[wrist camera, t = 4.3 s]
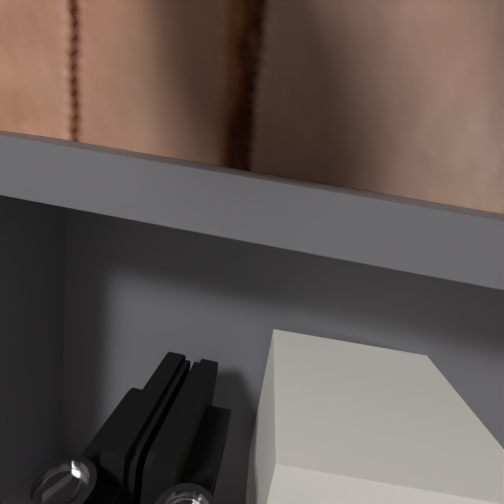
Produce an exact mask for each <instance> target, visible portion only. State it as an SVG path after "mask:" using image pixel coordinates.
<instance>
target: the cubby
mask: <svg viewBox="0 0 504 504" xmlns="http://www.w3.org/2000/svg"><path fill="white" fill-rule="evenodd" d="M273 329H276V330H282V331H287V332H293V333H299V334H305V335H311V336H317V337H322V338H328V339H334V340H340V341H346V342H352V343H357V344H363V345H369V346H375V347H381V348H386V349H392V350H398V351H404V352H410V353H416V354H421V355H427V356H428V358H429V359H430V360H431V361H432V363H433V364H434V365H435V366H436V367H437V369H438V370H439V371H440V372H441V373H442V375H443V376H444V377H445V378H446V380H447V381H448V382H449V383H450V384H451V386H452V387H453V388H454V389H455V391H456V392H457V393H458V394H459V395H460V397H461V398H462V399H463V400H464V401H465V403H466V404H467V405H468V406H469V408H470V409H471V410H472V411H473V412H474V414H475V415H476V416H477V417H478V418H479V420H480V421H481V422H482V423H483V425H484V426H485V427H486V428H487V429H488V431H489V432H490V433H491V434H492V436H493V437H494V438H495V439H496V440H497V442H498V443H499V444H500V445H501V446H502V448H503V449H504V214H499V213H494V212H488V211H482V210H476V209H470V208H464V207H458V206H452V205H446V204H440V203H434V202H429V201H423V200H417V199H411V198H405V197H399V196H393V195H387V194H381V193H375V192H369V191H364V190H358V189H352V188H346V187H340V186H334V185H328V184H322V183H316V182H310V181H304V180H299V179H293V178H287V177H281V176H275V175H269V174H263V173H257V172H251V171H245V170H239V169H234V168H228V167H222V166H216V165H210V164H204V163H198V162H192V161H186V160H180V159H174V158H169V157H163V156H157V155H151V154H145V153H139V152H133V151H127V150H121V149H115V148H109V147H104V146H98V145H92V144H86V143H80V142H74V141H68V140H62V139H56V138H50V137H44V136H37V135H30V134H22V133H15V132H7V131H0V503H1V502H3V501H4V500H5V499H6V498H7V497H8V496H9V495H10V494H11V493H12V492H13V491H15V490H16V489H17V488H18V487H19V486H20V485H21V484H22V483H23V482H24V481H25V480H26V479H27V478H28V477H29V476H30V475H31V474H33V473H34V472H35V471H36V470H37V469H38V468H40V467H41V466H42V465H44V464H45V463H47V462H49V461H51V460H53V459H55V458H59V457H63V456H68V455H78V456H80V455H81V454H82V453H83V451H84V450H85V449H86V447H87V446H88V445H89V443H90V442H91V441H92V439H93V438H94V436H95V435H96V434H97V432H98V431H99V430H100V428H101V427H102V426H103V424H104V423H105V422H106V420H107V419H108V418H109V416H110V415H111V414H112V412H113V411H114V410H115V408H116V407H117V405H118V404H119V403H120V401H121V400H122V399H123V397H124V396H125V395H126V393H127V392H128V391H129V390H130V389H131V388H137V389H143V388H144V386H145V385H146V383H147V382H148V381H149V379H150V378H151V376H152V375H153V373H154V372H155V370H156V369H157V367H158V366H159V364H160V363H161V361H162V360H163V358H164V357H165V356H166V354H167V353H168V352H174V353H179V354H183V355H185V356H186V360H189V361H190V362H191V363H190V369H191V367H192V365H193V363H194V362H198V363H200V361H201V359H206V360H211V361H216V362H218V370H217V377H216V383H215V389H214V396H213V402H212V406H217V407H221V408H226V409H230V410H231V417H230V422H229V428H228V434H227V439H226V444H225V448H224V453H223V457H222V462H221V466H220V470H219V474H218V478H217V482H216V487H215V491H214V495H213V497H214V499H215V501H216V504H246V491H247V478H248V464H249V452H250V447H251V441H252V436H253V431H254V426H255V421H256V416H257V411H258V406H259V401H260V395H261V390H262V385H263V380H264V375H265V370H266V365H267V360H268V355H269V349H270V344H271V339H272V334H273Z"/></svg>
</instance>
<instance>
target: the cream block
mask: <svg viewBox="0 0 504 504" xmlns="http://www.w3.org/2000/svg"><path fill="white" fill-rule="evenodd" d="M246 504H504V449H503V448H502V446H501V445H500V444H499V443H498V442H497V440H496V439H495V438H494V437H493V436H492V434H491V433H490V432H489V431H488V429H487V428H486V427H485V426H484V425H483V423H482V422H481V421H480V420H479V418H478V417H477V416H476V415H475V414H474V412H473V411H472V410H471V409H470V408H469V406H468V405H467V404H466V403H465V401H464V400H463V399H462V398H461V397H460V395H459V394H458V393H457V392H456V391H455V389H454V388H453V387H452V386H451V384H450V383H449V382H448V381H447V380H446V378H445V377H444V376H443V375H442V373H441V372H440V371H439V370H438V369H437V367H436V366H435V365H434V364H433V363H432V361H431V360H430V359H429V358H428V356H427V355H421V354H416V353H410V352H404V351H398V350H392V349H386V348H381V347H375V346H369V345H363V344H357V343H352V342H346V341H340V340H334V339H328V338H322V337H317V336H311V335H305V334H299V333H293V332H287V331H282V330H276V329H273V334H272V339H271V344H270V349H269V355H268V360H267V365H266V370H265V375H264V380H263V385H262V390H261V395H260V401H259V406H258V411H257V416H256V421H255V426H254V431H253V436H252V441H251V447H250V452H249V464H248V478H247V491H246Z"/></svg>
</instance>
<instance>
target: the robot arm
mask: <svg viewBox="0 0 504 504" xmlns="http://www.w3.org/2000/svg"><path fill="white" fill-rule="evenodd" d="M190 363H191V362H190V361H189V360H186V356H185V355H183V354H179V353H174V352H168V353H167V354H166V356H165V357H164V358H163V360H162V361H161V363H160V364H159V366H158V367H157V369H156V370H155V372H154V373H153V375H152V376H151V378H150V379H149V381H148V382H147V383H146V385H145V386H144V388H143V389H137V388H131V389H130V390H129V391H128V392H127V393H126V395H125V396H124V397H123V399H122V400H121V401H120V403H119V404H118V405H117V407H116V408H115V410H114V411H113V412H112V414H111V415H110V416H109V418H108V419H107V420H106V422H105V423H104V424H103V426H102V427H101V428H100V430H99V431H98V432H97V434H96V435H95V436H94V438H93V439H92V441H91V442H90V443H89V445H88V446H87V447H86V449H85V450H84V451H83V453H82V454H81V455H80V456H78V455H68V456H63V457H59V458H55V459H53V460H51V461H49V462H47V463H45V464H44V465H42V466H41V467H40V468H38V469H37V470H36V471H35V472H34V473H33V474H31V475H30V476H29V477H28V478H27V479H26V480H25V481H24V482H23V483H22V484H21V485H20V486H19V487H18V488H17V489H16V490H15V491H13V492H12V493H11V494H10V495H9V496H8V497H7V498H6V499H5V500H4V501H3V502H1V503H0V504H216V501H215V499H214V497H213V495H214V491H215V487H216V482H217V478H218V474H219V470H220V466H221V462H222V457H223V453H224V448H225V444H226V439H227V434H228V428H229V422H230V417H231V410H230V409H226V408H221V407H217V406H212V402H213V396H214V389H215V383H216V377H217V370H218V362H216V361H211V360H206V359H201V361H200V363H198V362H194V363H193V365H192V367H191V369H190Z"/></svg>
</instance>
